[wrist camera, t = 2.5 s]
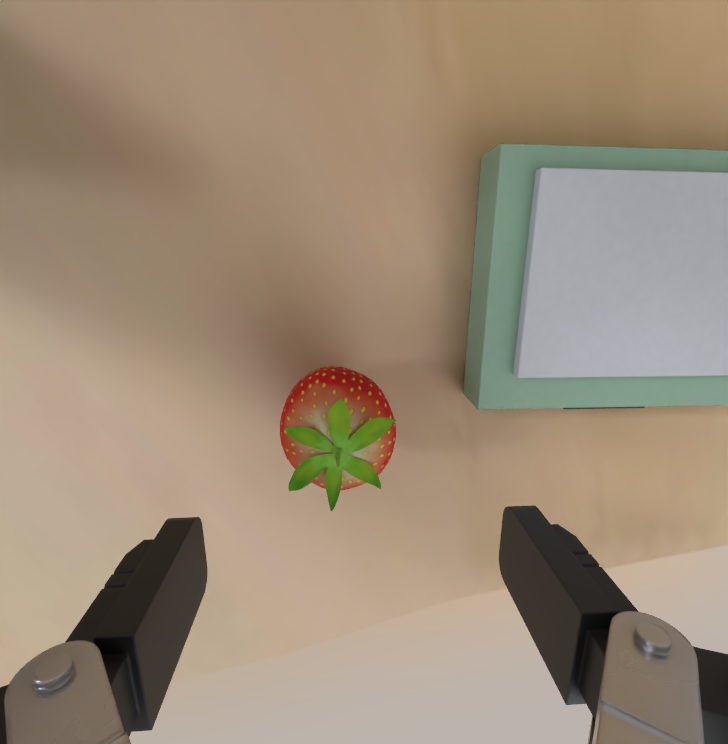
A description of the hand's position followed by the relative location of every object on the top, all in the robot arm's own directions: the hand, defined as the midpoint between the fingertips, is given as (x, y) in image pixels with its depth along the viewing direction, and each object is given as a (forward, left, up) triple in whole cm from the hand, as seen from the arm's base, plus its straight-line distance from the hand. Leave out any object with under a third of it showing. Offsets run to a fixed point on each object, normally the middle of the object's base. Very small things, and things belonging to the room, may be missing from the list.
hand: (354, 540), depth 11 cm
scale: (+14, +6, -12) cm, 19 cm away
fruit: (0, 0, -13) cm, 13 cm away
